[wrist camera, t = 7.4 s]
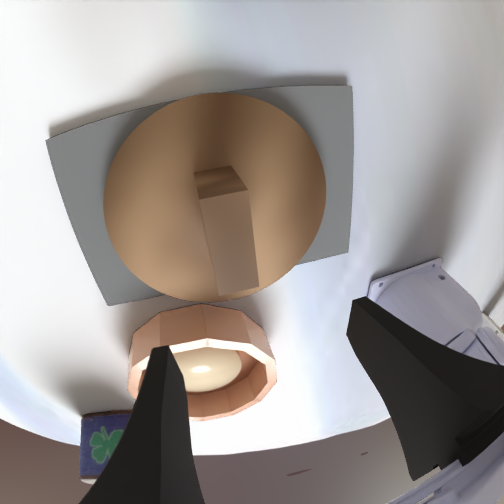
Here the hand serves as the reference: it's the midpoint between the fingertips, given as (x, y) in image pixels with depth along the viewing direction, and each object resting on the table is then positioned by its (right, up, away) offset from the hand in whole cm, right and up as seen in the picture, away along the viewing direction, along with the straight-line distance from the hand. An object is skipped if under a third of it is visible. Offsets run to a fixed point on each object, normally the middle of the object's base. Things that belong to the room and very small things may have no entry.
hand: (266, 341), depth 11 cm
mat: (-3, +7, +6) cm, 10 cm away
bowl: (-5, -6, +13) cm, 16 cm away
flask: (-17, -16, +17) cm, 29 cm away
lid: (-3, +6, +6) cm, 9 cm away
